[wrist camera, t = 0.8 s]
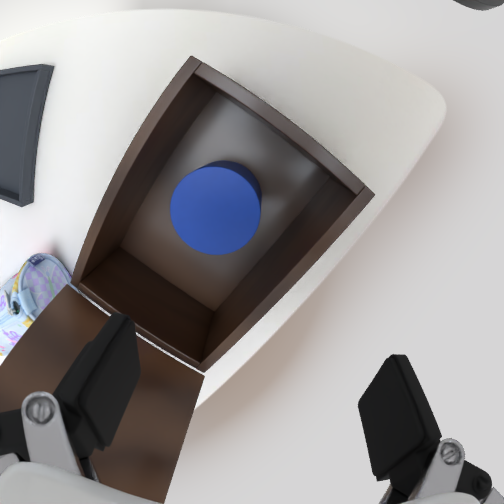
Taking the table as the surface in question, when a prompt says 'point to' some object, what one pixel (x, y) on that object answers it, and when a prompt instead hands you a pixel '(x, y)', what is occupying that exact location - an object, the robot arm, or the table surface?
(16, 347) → the chest lid
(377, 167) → the table surface
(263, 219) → the chest
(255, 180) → the blue cylinder
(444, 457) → the robot arm
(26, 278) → the pencil case
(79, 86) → the table surface
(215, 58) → the table surface
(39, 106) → the tray
